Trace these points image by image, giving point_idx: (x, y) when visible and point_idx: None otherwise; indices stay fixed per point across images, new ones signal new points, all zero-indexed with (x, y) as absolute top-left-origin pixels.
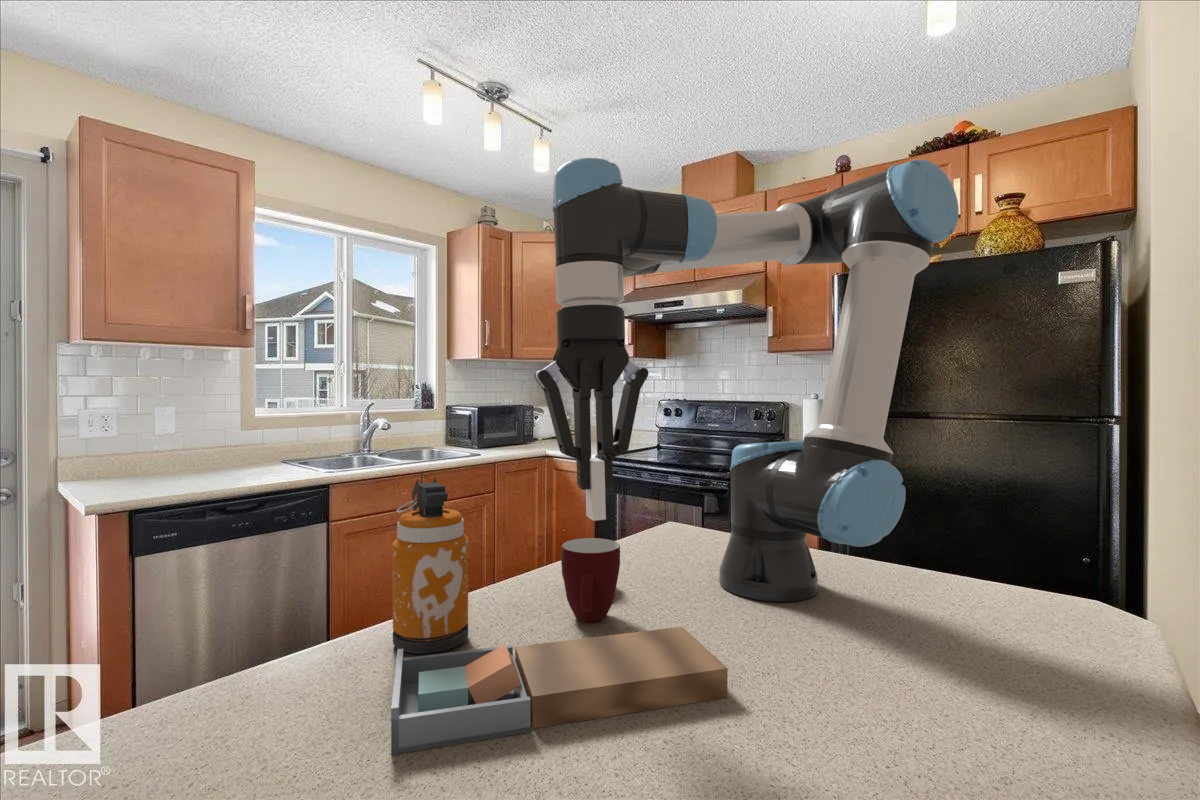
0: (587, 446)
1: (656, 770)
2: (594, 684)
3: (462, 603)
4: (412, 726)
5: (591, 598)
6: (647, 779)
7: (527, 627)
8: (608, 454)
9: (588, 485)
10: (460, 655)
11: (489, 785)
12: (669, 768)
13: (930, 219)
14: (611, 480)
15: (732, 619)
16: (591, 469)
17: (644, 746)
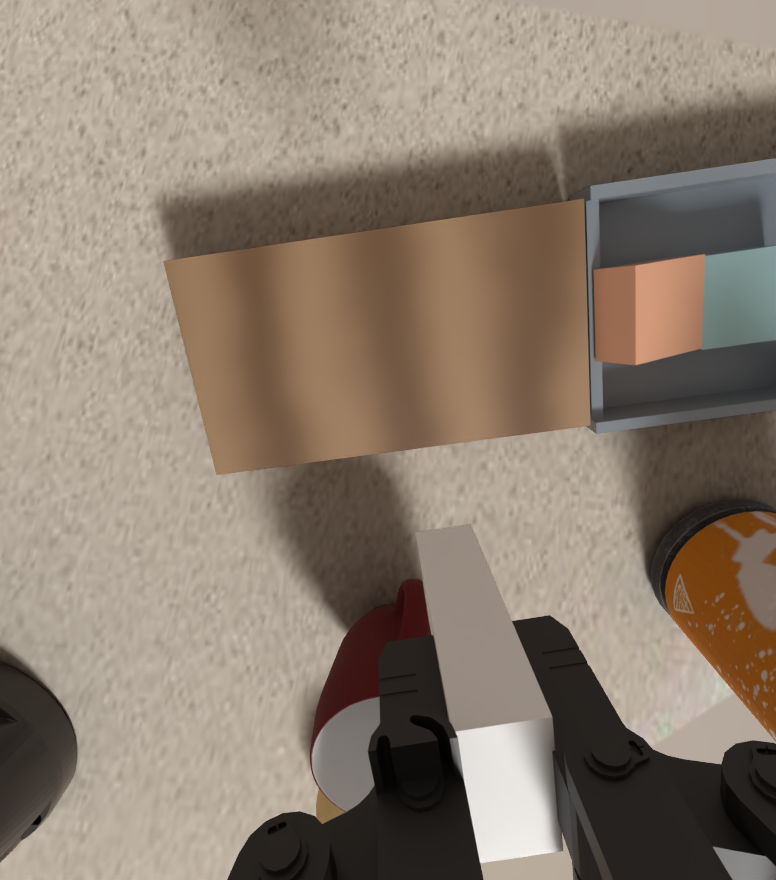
0: (633, 835)
1: (371, 38)
2: (455, 229)
3: (711, 576)
4: None
5: (406, 587)
6: (392, 13)
7: (525, 601)
8: (423, 778)
9: (520, 635)
10: (702, 408)
11: (654, 41)
12: (347, 41)
13: None
14: (387, 669)
15: (93, 585)
16: (535, 677)
17: (377, 118)
